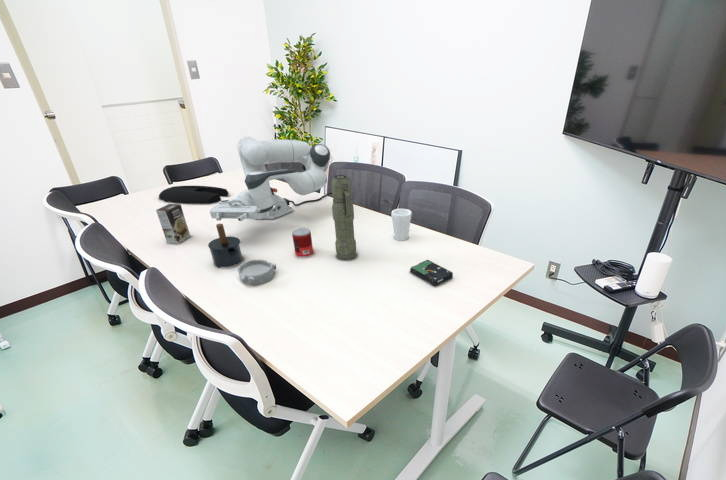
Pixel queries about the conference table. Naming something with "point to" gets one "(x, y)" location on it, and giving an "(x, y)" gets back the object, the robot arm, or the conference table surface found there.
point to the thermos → (343, 218)
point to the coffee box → (173, 223)
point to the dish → (256, 271)
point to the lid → (223, 240)
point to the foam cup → (401, 223)
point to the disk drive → (431, 272)
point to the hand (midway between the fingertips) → (228, 219)
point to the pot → (227, 257)
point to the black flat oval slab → (193, 194)
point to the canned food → (302, 242)
